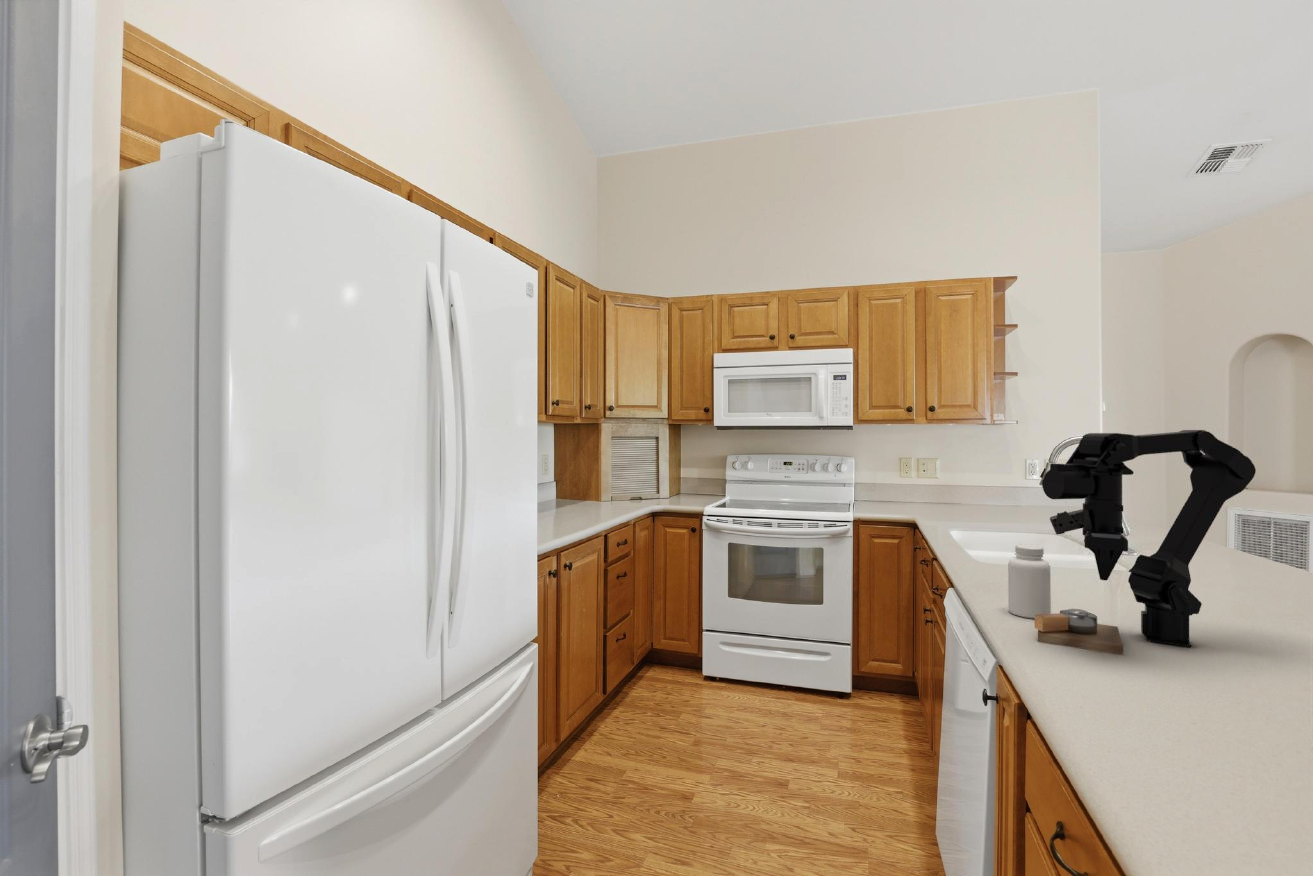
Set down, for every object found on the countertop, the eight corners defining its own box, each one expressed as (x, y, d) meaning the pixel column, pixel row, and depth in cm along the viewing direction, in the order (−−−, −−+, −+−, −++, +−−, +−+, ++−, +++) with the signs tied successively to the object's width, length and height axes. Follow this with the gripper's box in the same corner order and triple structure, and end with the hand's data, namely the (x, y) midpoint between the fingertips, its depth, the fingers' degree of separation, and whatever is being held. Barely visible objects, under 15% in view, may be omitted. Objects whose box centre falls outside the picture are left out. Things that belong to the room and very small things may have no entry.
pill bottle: (1050, 612, 132) (1049, 545, 132) (1051, 622, 125) (1050, 551, 125) (1008, 606, 136) (1008, 542, 136) (1007, 616, 130) (1007, 548, 129)
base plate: (1117, 634, 118) (1117, 625, 118) (1123, 654, 107) (1123, 644, 107) (1039, 622, 125) (1039, 614, 125) (1037, 641, 114) (1037, 631, 114)
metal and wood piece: (1079, 622, 119) (1079, 606, 119) (1105, 632, 113) (1105, 615, 113) (1027, 625, 118) (1027, 608, 118) (1050, 636, 112) (1050, 618, 112)
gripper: (1053, 492, 125) (1053, 565, 125) (1051, 501, 110) (1052, 584, 110) (1120, 494, 119) (1120, 572, 119) (1128, 504, 103) (1128, 593, 104)
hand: (1103, 579), depth 113 cm, fingers closed
